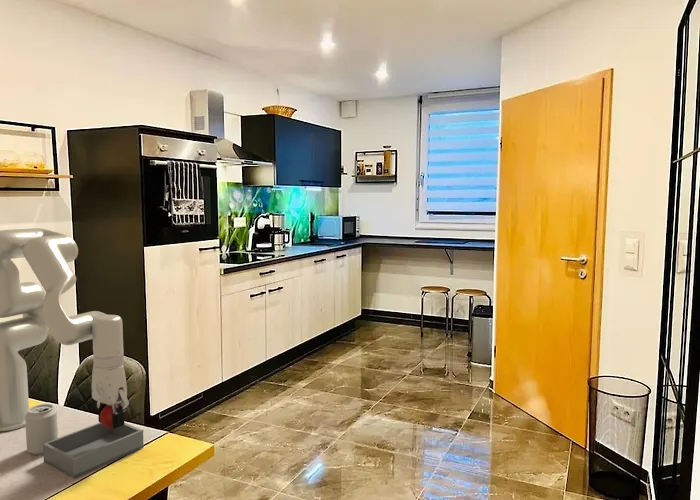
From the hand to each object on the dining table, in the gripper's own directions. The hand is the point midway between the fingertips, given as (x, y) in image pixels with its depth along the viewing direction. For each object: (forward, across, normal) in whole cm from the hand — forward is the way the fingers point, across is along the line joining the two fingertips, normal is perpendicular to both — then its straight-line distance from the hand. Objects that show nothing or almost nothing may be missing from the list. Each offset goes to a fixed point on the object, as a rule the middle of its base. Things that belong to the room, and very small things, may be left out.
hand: (111, 423), depth 144 cm
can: (+7, -15, -12) cm, 20 cm away
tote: (+7, 0, -5) cm, 9 cm away
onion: (+2, 0, 0) cm, 2 cm away
